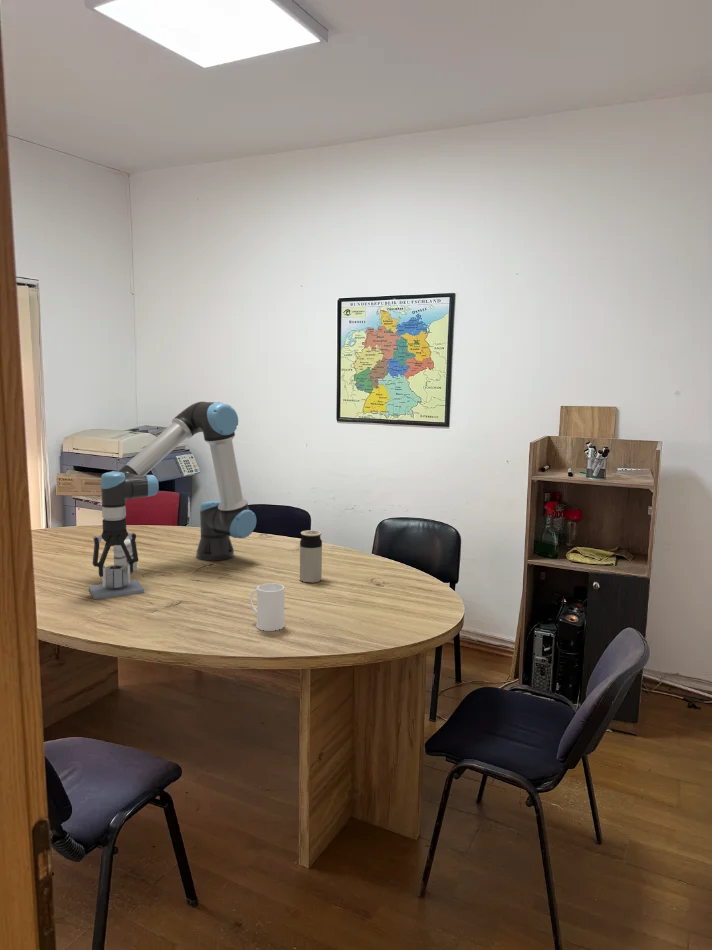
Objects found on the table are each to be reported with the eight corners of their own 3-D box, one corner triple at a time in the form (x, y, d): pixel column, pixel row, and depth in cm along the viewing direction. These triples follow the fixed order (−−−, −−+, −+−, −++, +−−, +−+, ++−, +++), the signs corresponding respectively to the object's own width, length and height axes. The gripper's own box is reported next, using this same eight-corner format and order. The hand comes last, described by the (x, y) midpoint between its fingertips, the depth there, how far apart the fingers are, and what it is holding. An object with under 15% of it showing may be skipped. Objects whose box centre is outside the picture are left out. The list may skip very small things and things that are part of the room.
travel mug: (325, 578, 244) (325, 531, 241) (314, 584, 237) (315, 536, 234) (306, 575, 247) (306, 529, 245) (295, 581, 240) (296, 533, 237)
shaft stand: (137, 582, 234) (136, 563, 233) (144, 592, 224) (143, 572, 223) (89, 589, 227) (88, 568, 226) (94, 599, 216) (93, 578, 215)
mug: (242, 624, 197) (242, 585, 196) (261, 616, 204) (261, 579, 202) (271, 633, 191) (271, 593, 189) (290, 625, 198) (291, 586, 196)
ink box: (125, 576, 242) (124, 544, 240) (113, 575, 243) (112, 544, 241) (137, 569, 251) (137, 539, 249) (126, 568, 252) (125, 538, 250)
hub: (125, 580, 230) (124, 563, 229) (129, 585, 224) (129, 568, 223) (103, 583, 226) (103, 566, 225) (107, 588, 220) (106, 571, 219)
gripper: (142, 513, 230) (144, 577, 233) (80, 518, 220) (83, 584, 223) (147, 517, 223) (149, 582, 227) (83, 523, 214) (86, 591, 217)
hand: (116, 583), depth 225 cm, fingers closed on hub, 7 cm apart
